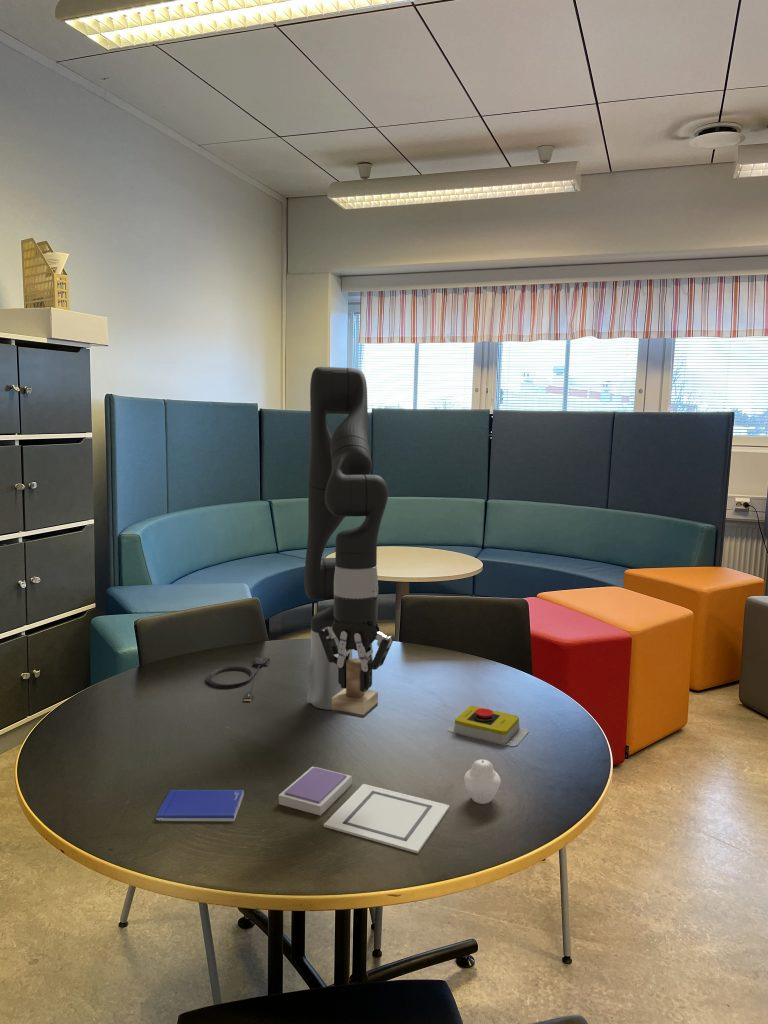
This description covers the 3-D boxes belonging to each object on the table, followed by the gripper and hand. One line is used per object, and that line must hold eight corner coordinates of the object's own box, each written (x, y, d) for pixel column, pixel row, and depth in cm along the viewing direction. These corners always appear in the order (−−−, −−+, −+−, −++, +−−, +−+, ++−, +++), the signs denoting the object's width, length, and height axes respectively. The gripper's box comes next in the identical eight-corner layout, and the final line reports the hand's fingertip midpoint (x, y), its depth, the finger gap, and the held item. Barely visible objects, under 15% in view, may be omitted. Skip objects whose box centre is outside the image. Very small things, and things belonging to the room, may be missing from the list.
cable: (191, 703, 160) (191, 697, 160) (219, 661, 188) (219, 656, 188) (251, 704, 160) (251, 698, 160) (270, 662, 188) (270, 656, 188)
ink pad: (278, 804, 118) (278, 793, 118) (312, 774, 128) (312, 764, 127) (320, 815, 114) (320, 804, 114) (351, 784, 124) (351, 774, 124)
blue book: (243, 788, 121) (170, 788, 120) (234, 815, 113) (156, 815, 112) (243, 797, 121) (171, 797, 121) (234, 824, 113) (156, 824, 113)
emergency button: (464, 698, 154) (531, 712, 147) (463, 717, 155) (530, 732, 147) (446, 713, 146) (516, 729, 139) (446, 733, 147) (515, 750, 139)
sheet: (323, 826, 111) (323, 823, 111) (363, 785, 124) (363, 783, 124) (417, 853, 105) (418, 850, 105) (449, 807, 117) (449, 804, 117)
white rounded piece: (486, 813, 116) (487, 772, 115) (456, 799, 120) (457, 760, 119) (507, 798, 120) (508, 759, 120) (477, 785, 125) (478, 748, 124)
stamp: (331, 712, 122) (331, 664, 121) (347, 700, 127) (347, 653, 126) (363, 718, 119) (363, 669, 118) (377, 705, 125) (378, 658, 124)
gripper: (308, 591, 120) (308, 689, 122) (385, 600, 115) (383, 703, 117) (329, 583, 127) (329, 675, 129) (402, 591, 121) (400, 687, 123)
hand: (355, 688), depth 123 cm, fingers closed on stamp, 3 cm apart
